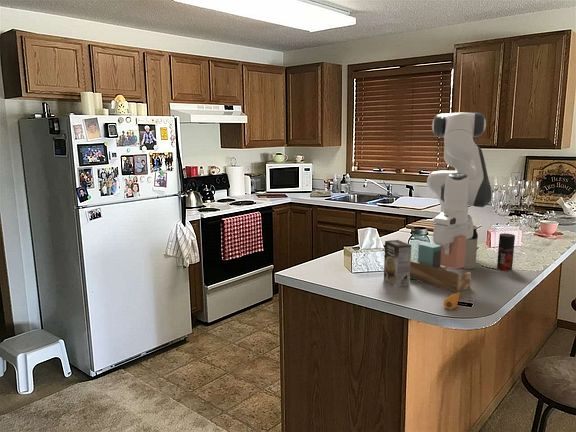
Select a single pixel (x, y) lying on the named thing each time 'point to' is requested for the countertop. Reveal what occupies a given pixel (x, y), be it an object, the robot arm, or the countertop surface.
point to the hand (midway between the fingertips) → (452, 252)
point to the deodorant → (505, 252)
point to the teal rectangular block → (429, 254)
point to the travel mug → (471, 250)
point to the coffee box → (397, 262)
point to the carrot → (452, 301)
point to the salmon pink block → (454, 253)
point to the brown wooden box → (439, 277)
